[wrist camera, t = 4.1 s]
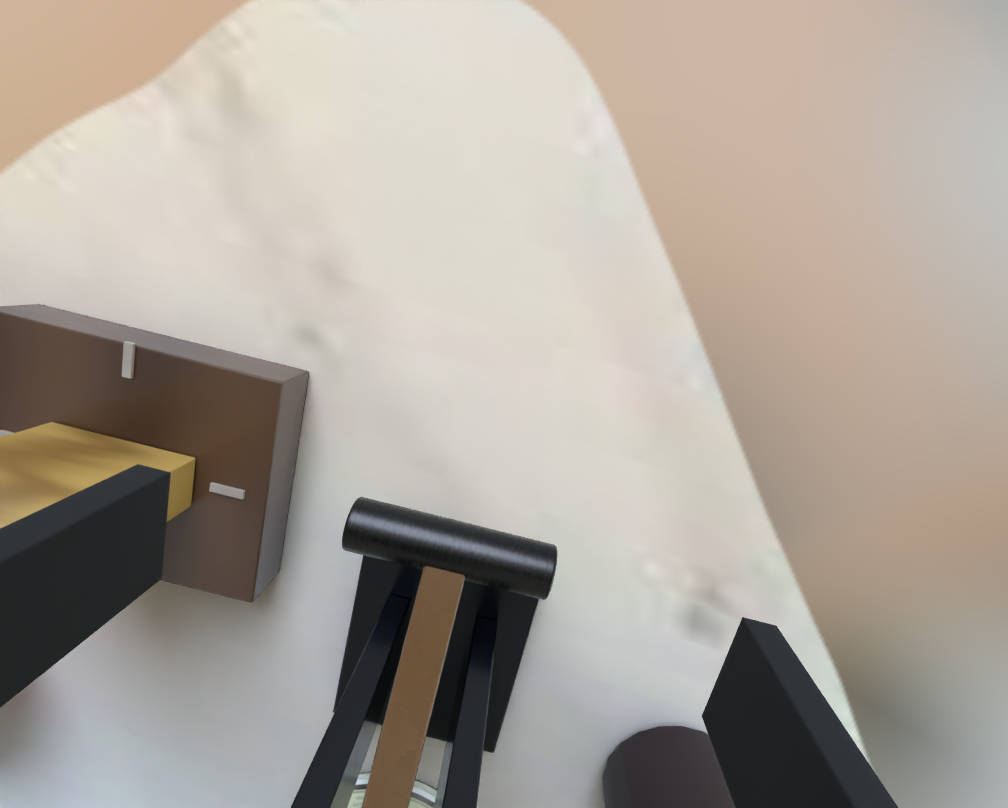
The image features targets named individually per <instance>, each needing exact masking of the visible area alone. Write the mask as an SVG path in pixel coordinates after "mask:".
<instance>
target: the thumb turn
mask: <svg viewBox="0 0 1008 808" xmlns="http://www.w3.org/2000/svg"><path fill="white" fill-rule="evenodd" d="M195 460H196V459H195V458H194V457H190V456H186V455H182V454H178V453H174V452H170V451H166V450H162V449H158V448H154V447H150V446H146V445H142V444H138V443H134V442H130V441H126V440H122V439H118V438H114V437H110V436H106V435H102V434H98V433H94V432H90V431H86V430H82V429H78V428H74V427H70V426H66V425H62V424H58V423H54V422H50V423H46V424H43V425H40V426H36V427H33V428H30V429H26V430H23V431H20V432H16V433H13V434H10V435H6V436H3V437H0V528H2V527H5V526H7V525H9V524H11V523H13V522H15V521H17V520H19V519H22V518H24V517H26V516H28V515H30V514H32V513H34V512H37V511H39V510H41V509H43V508H45V507H47V506H49V505H51V504H54V503H56V502H58V501H60V500H62V499H64V498H66V497H69V496H71V495H73V494H75V493H77V492H79V491H81V490H83V489H86V488H88V487H90V486H92V485H94V484H96V483H98V482H101V481H103V480H105V479H107V478H109V477H111V476H113V475H115V474H118V473H120V472H122V471H124V470H126V469H128V468H130V467H133V466H135V465H137V464H140V465H144V466H148V467H152V468H156V469H159V470H163V471H167V472H171V477H170V488H169V500H168V512H167V522H168V521H169V520H171V519H172V518H174V517H175V516H177V515H178V514H180V513H181V512H183V511H184V510H186V509H187V508H189V507H190V506H191V501H192V491H193V481H194V471H195Z"/></svg>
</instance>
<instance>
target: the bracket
mask: <svg viewBox="0 0 1008 808" xmlns="http://www.w3.org/2000/svg"><path fill="white" fill-rule="evenodd" d="M422 572H423V570H421V569H417V568H413V567H409V566H405V565H401V564H397V563H393V562H389V561H385V560H381V559H377V558H373V557H369V556H365V555H363V560H362V565H361V570H360V575H359V581H358V586H357V591H356V596H355V601H354V607H353V612H352V617H351V622H350V627H349V632H348V638H347V643H346V648H345V653H344V658H343V663H342V669H341V674H340V679H339V684H338V689H337V694H336V700H335V705H334V710H333V712H334V715H333V717H332V720H331V722H330V724H329V726H328V728H327V730H326V733H325V735H324V737H323V739H322V741H321V743H320V746H319V748H318V750H317V752H316V754H315V756H314V758H313V761H312V763H311V765H310V767H309V769H308V771H307V774H306V776H305V778H304V780H303V782H302V784H301V787H300V789H299V791H298V793H297V795H296V797H295V799H294V802H293V804H292V806H291V808H347V807H348V804H349V801H350V798H351V796H352V793H353V790H354V787H355V784H356V782H357V779H358V776H359V773H360V770H361V768H362V765H363V762H364V759H365V756H366V754H367V751H368V748H369V745H370V742H371V740H372V737H373V734H374V731H375V728H376V726H377V724H380V725H383V722H384V719H385V715H386V711H387V707H388V703H389V699H390V695H391V692H392V688H393V684H394V680H395V676H396V672H397V668H398V665H399V661H400V657H401V653H402V649H403V645H404V641H405V638H406V634H407V630H408V626H409V622H410V618H411V614H412V611H413V607H414V603H415V599H416V595H417V591H418V588H419V584H420V580H421V576H422ZM538 600H539V599H538V598H534V597H530V596H526V595H522V594H518V593H514V592H510V591H506V590H501V589H497V588H493V587H489V586H485V585H481V584H477V583H473V582H469V581H465V580H464V584H463V588H462V592H461V596H460V600H459V604H458V608H457V612H456V616H455V620H454V624H453V628H452V632H451V637H450V641H449V645H448V649H447V653H446V657H445V661H444V665H443V669H442V673H441V677H440V681H439V685H438V689H437V693H436V697H435V701H434V705H433V709H432V713H431V717H430V721H429V725H428V729H427V733H426V736H427V737H431V738H435V739H439V740H443V741H447V742H446V747H445V752H444V757H443V762H442V767H441V772H440V778H439V783H438V788H437V793H436V798H435V803H434V808H477V799H478V790H479V781H480V772H481V764H482V755H483V751H487V752H491V753H493V752H494V750H495V747H496V743H497V740H498V737H499V733H500V730H501V726H502V723H503V720H504V716H505V713H506V709H507V706H508V703H509V699H510V696H511V692H512V689H513V686H514V682H515V679H516V675H517V672H518V669H519V665H520V662H521V658H522V655H523V651H524V648H525V645H526V641H527V638H528V634H529V631H530V628H531V624H532V621H533V617H534V614H535V611H536V607H537V604H538Z"/></svg>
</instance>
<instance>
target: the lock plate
mask: <svg viewBox="0 0 1008 808" xmlns="http://www.w3.org/2000/svg"><path fill="white" fill-rule="evenodd" d="M308 376H309V372H308V371H305V370H301V369H297V368H293V367H289V366H285V365H281V364H277V363H273V362H269V361H265V360H261V359H257V358H253V357H249V356H245V355H241V354H237V353H233V352H229V351H225V350H221V349H217V348H213V347H209V346H205V345H201V344H197V343H193V342H189V341H185V340H181V339H177V338H173V337H169V336H165V335H161V334H157V333H153V332H149V331H145V330H141V329H137V328H133V327H129V326H125V325H121V324H117V323H113V322H109V321H105V320H100V319H96V318H92V317H88V316H84V315H80V314H76V313H72V312H68V311H64V310H60V309H56V308H52V307H48V306H44V305H40V304H36V305H18V306H1V307H0V437H3V436H6V435H10V434H13V433H16V432H20V431H23V430H26V429H30V428H33V427H36V426H40V425H43V424H46V423H50V422H54V423H58V424H62V425H66V426H70V427H74V428H78V429H82V430H86V431H90V432H94V433H98V434H102V435H106V436H110V437H114V438H118V439H122V440H126V441H130V442H134V443H138V444H142V445H146V446H150V447H154V448H158V449H162V450H166V451H170V452H174V453H178V454H182V455H186V456H190V457H194V458H195V459H196V460H195V471H194V481H193V491H192V501H191V506H190V507H189V508H187V509H186V510H184V511H183V512H181V513H180V514H178V515H177V516H175V517H174V518H172V519H171V520H169V521H168V522H167V524H166V536H165V548H164V560H163V572H162V579H160V580H163V581H167V582H171V583H175V584H179V585H183V586H187V587H191V588H195V589H199V590H203V591H207V592H211V593H215V594H219V595H223V596H227V597H231V598H235V599H239V600H243V601H247V602H253V601H254V600H255V599H256V598H257V597H258V595H259V594H260V593H261V592H262V591H263V590H264V589H265V587H266V586H267V585H268V584H269V583H270V582H271V580H272V579H273V578H274V577H275V576H276V575H277V574H278V572H279V569H280V562H281V556H282V549H283V542H284V536H285V529H286V522H287V516H288V509H289V502H290V496H291V489H292V482H293V476H294V469H295V462H296V456H297V449H298V442H299V436H300V429H301V422H302V416H303V409H304V402H305V396H306V389H307V382H308Z"/></svg>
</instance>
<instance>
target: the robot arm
mask: <svg viewBox="0 0 1008 808" xmlns="http://www.w3.org/2000/svg"><path fill="white" fill-rule="evenodd" d="M170 477H171V472H167V471H163V470H159V469H156V468H152V467H148V466H144V465H140V464H137V465H135V466H133V467H130V468H128V469H126V470H124V471H122V472H120V473H118V474H115V475H113V476H111V477H109V478H107V479H105V480H103V481H101V482H98V483H96V484H94V485H92V486H90V487H88V488H86V489H83V490H81V491H79V492H77V493H75V494H73V495H71V496H69V497H66V498H64V499H62V500H60V501H58V502H56V503H54V504H51V505H49V506H47V507H45V508H43V509H41V510H39V511H37V512H34V513H32V514H30V515H28V516H26V517H24V518H22V519H19V520H17V521H15V522H13V523H11V524H9V525H7V526H5V527H2V528H0V707H1V706H3V705H4V704H5V703H6V702H8V701H9V700H10V699H11V698H13V697H14V696H15V695H16V694H18V693H19V692H20V691H21V690H23V689H24V688H25V687H26V686H28V685H29V684H30V683H32V682H33V681H34V680H35V679H37V678H38V677H39V676H40V675H42V674H43V673H44V672H45V671H47V670H48V669H49V668H50V667H52V666H53V665H54V664H55V663H57V662H58V661H59V660H60V659H62V658H63V657H64V656H65V655H67V654H68V653H69V652H70V651H72V650H73V649H74V648H75V647H77V646H78V645H79V644H80V643H82V642H83V641H84V640H85V639H87V638H88V637H89V636H90V635H92V634H93V633H94V632H95V631H97V630H98V629H99V628H100V627H102V626H103V625H104V624H105V623H107V622H108V621H109V620H110V619H112V618H113V617H114V616H115V615H117V614H118V613H119V612H120V611H122V610H123V609H124V608H125V607H127V606H128V605H129V604H130V603H132V602H133V601H134V600H135V599H137V598H138V597H139V596H140V595H142V594H143V593H144V592H145V591H147V590H148V589H149V588H150V587H152V586H153V585H154V584H155V583H157V582H158V581H159V580H160V579H162V572H163V560H164V548H165V536H166V524H167V512H168V500H169V488H170ZM702 718H703V720H704V723H705V726H706V729H707V731H708V734H709V737H710V740H711V742H712V745H713V748H714V751H715V753H716V756H717V759H718V762H719V764H720V767H721V770H722V773H723V775H724V778H725V781H726V784H727V786H728V789H729V792H730V795H731V797H732V800H733V803H734V806H735V808H898V807H897V805H896V804H895V802H894V801H893V799H892V798H891V797H890V795H889V793H888V792H887V790H886V789H885V787H884V786H883V784H882V783H881V781H880V780H879V778H878V777H877V775H876V774H875V772H874V771H873V769H872V768H871V766H870V765H869V763H868V762H867V760H866V759H865V757H864V756H863V754H862V753H861V751H860V750H859V748H858V747H857V745H856V744H855V742H854V741H853V740H852V738H851V737H850V735H849V734H848V732H847V731H846V729H845V728H844V726H843V725H842V723H841V722H840V720H839V719H838V717H837V716H836V714H835V713H834V711H833V710H832V708H831V707H830V705H829V704H828V702H827V701H826V699H825V698H824V696H823V695H822V693H821V692H820V690H819V689H818V687H817V686H816V684H815V683H814V681H813V680H812V678H811V677H810V675H809V674H808V672H807V671H806V669H805V668H804V666H803V665H802V663H801V662H800V660H799V659H798V657H797V656H796V654H795V653H794V651H793V650H792V648H791V647H790V645H789V644H788V642H787V641H786V639H785V638H784V636H783V635H782V633H781V632H780V630H779V629H778V628H777V626H775V625H771V624H767V623H763V622H759V621H755V620H751V619H747V618H742V620H741V623H740V625H739V627H738V630H737V632H736V635H735V637H734V640H733V642H732V644H731V647H730V649H729V652H728V654H727V657H726V659H725V661H724V664H723V666H722V669H721V671H720V674H719V676H718V678H717V681H716V683H715V686H714V688H713V691H712V693H711V695H710V698H709V700H708V703H707V705H706V707H705V710H704V712H703V715H702Z"/></svg>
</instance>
